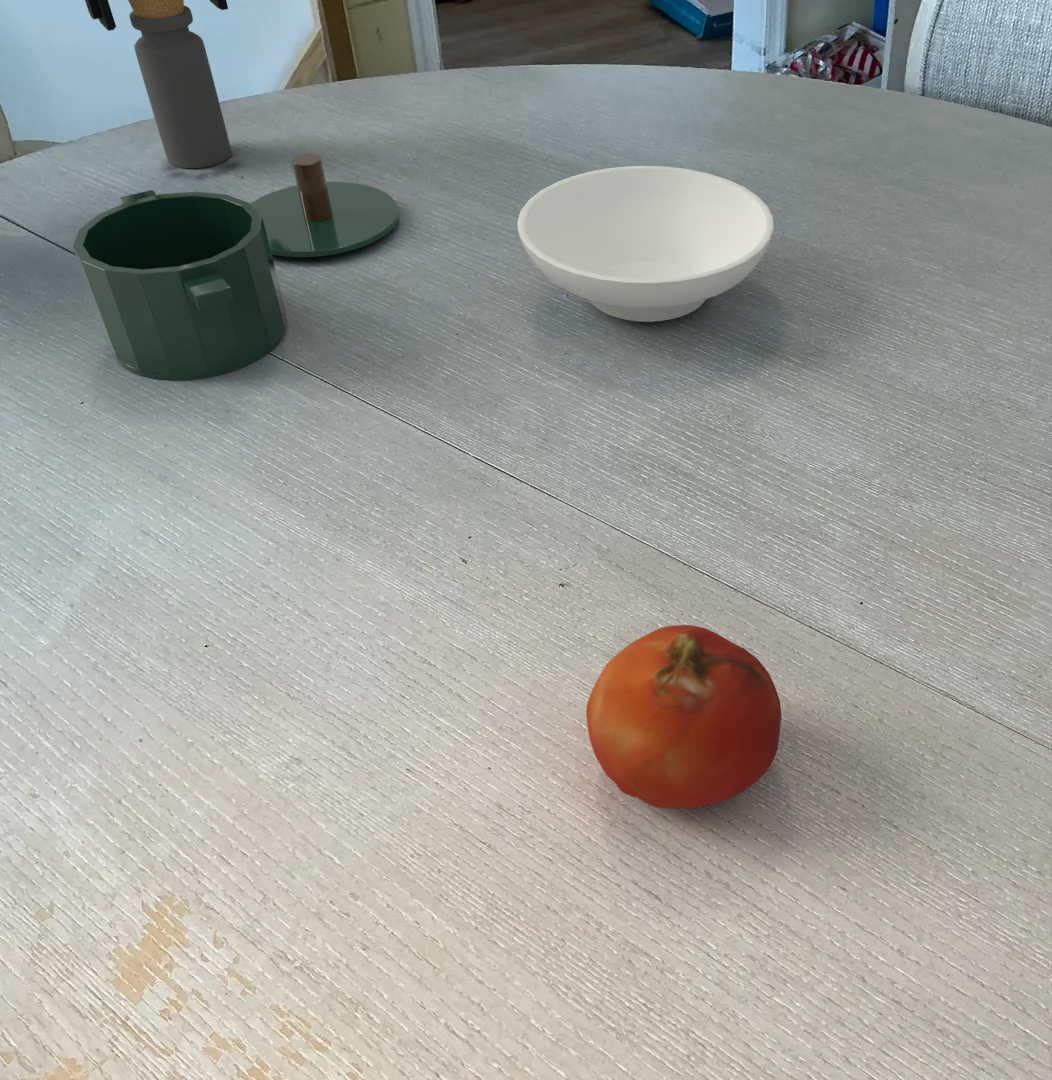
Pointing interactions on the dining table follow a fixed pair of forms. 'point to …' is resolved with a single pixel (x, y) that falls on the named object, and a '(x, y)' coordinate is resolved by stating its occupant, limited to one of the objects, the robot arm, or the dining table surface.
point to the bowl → (645, 238)
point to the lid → (323, 213)
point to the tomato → (684, 718)
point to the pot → (182, 283)
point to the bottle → (179, 84)
